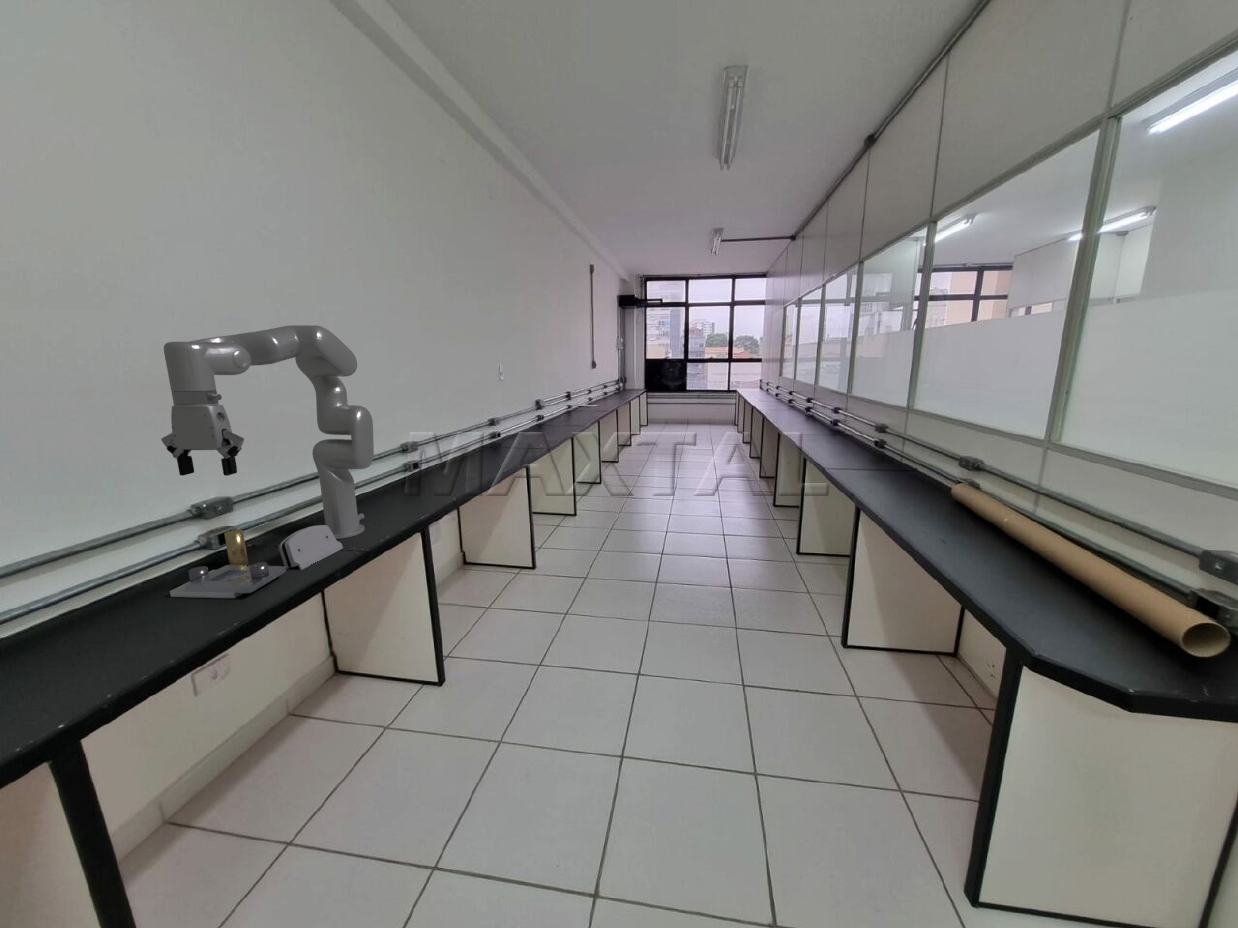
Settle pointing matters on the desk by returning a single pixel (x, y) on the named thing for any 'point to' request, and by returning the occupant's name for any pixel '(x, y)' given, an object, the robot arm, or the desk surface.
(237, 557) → the pin
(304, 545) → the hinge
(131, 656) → the desk surface
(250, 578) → the knobbed base plate
